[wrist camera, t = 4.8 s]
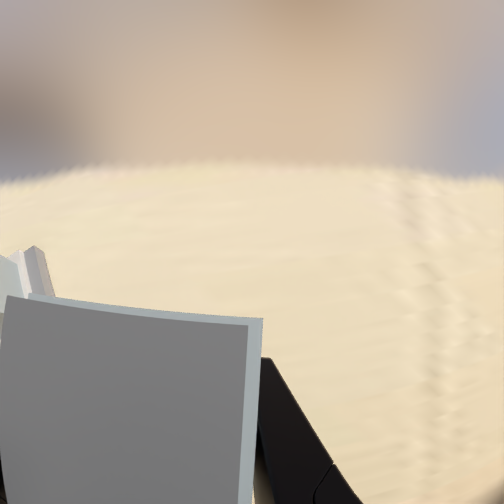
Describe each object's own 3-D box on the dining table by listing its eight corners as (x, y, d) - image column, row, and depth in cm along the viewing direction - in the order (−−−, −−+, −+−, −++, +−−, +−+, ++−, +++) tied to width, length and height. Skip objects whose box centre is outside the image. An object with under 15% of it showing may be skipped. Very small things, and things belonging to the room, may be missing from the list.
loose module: (245, 440, 13) (246, 598, 2) (158, 430, 13) (5, 528, 2) (251, 347, 14) (266, 309, 4) (164, 339, 14) (1, 280, 4)
